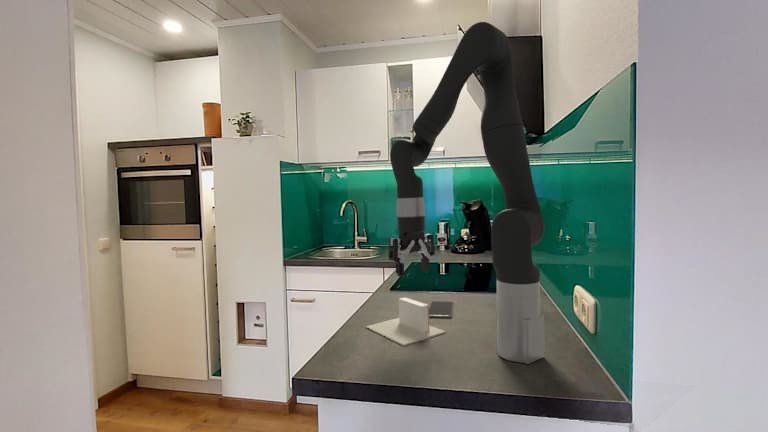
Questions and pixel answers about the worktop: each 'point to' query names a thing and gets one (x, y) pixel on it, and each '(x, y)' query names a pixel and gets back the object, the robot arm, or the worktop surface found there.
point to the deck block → (414, 314)
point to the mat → (402, 332)
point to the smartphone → (440, 309)
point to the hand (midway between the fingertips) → (413, 274)
